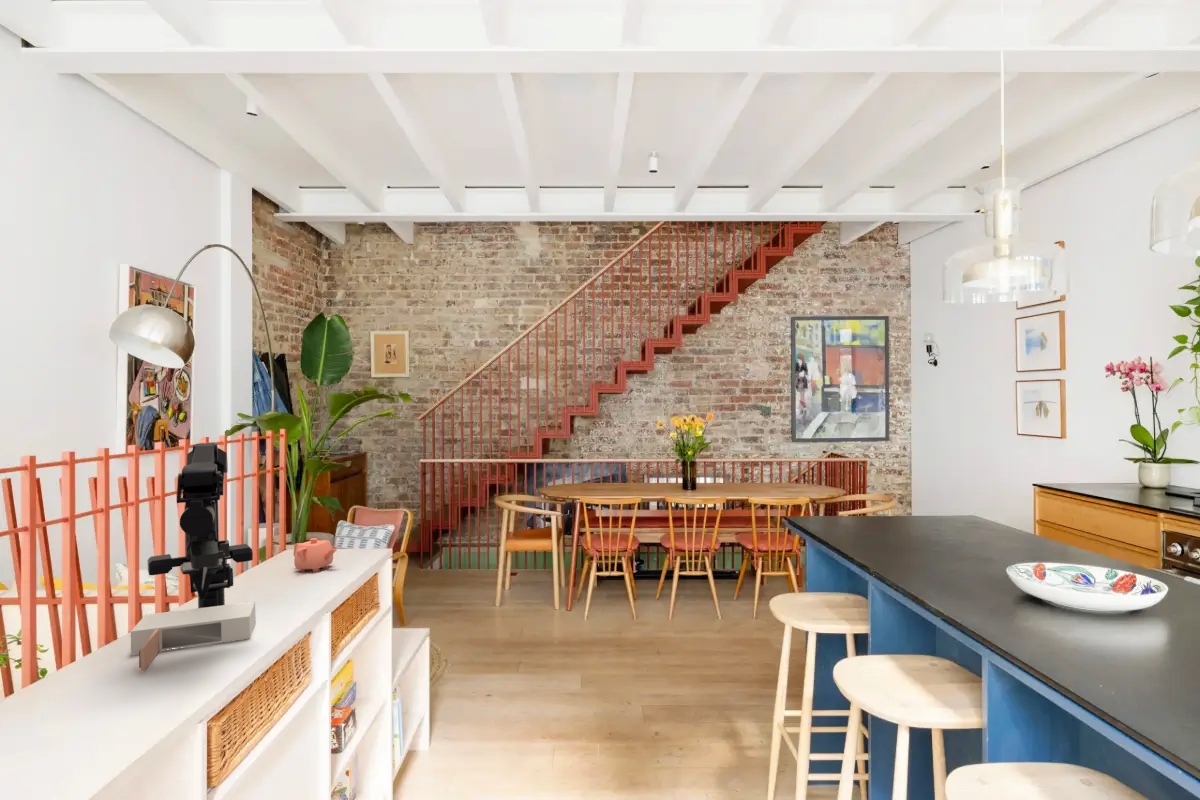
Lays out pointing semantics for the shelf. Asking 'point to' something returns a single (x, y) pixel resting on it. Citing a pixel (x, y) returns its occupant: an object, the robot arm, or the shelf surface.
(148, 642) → the side door
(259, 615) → the shelf surface
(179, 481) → the robot arm
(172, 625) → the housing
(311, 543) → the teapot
